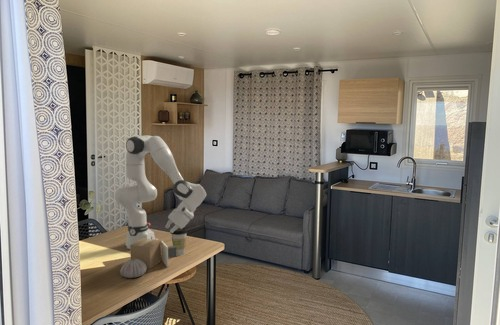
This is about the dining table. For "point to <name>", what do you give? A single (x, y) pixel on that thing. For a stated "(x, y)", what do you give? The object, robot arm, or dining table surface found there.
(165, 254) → the flap
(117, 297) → the dining table surface
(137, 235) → the robot arm
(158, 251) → the carton
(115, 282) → the dining table surface
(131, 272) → the sea urchin shell
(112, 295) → the dining table surface
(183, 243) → the coffee cup
